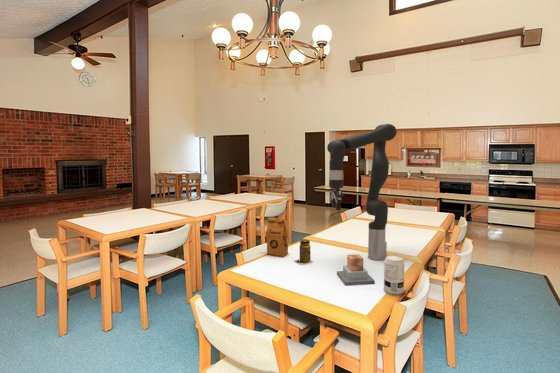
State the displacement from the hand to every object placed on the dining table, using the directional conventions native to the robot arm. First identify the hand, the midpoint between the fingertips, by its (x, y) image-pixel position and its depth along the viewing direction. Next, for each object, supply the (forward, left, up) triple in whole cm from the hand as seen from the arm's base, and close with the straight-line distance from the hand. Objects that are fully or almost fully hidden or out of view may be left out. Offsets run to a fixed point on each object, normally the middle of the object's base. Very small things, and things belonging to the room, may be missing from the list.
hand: (336, 208), depth 180 cm
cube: (-3, +23, -25) cm, 34 cm away
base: (-3, +23, -30) cm, 38 cm away
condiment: (+17, -5, -30) cm, 35 cm away
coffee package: (+30, -20, -30) cm, 47 cm away
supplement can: (-15, +39, -30) cm, 52 cm away
